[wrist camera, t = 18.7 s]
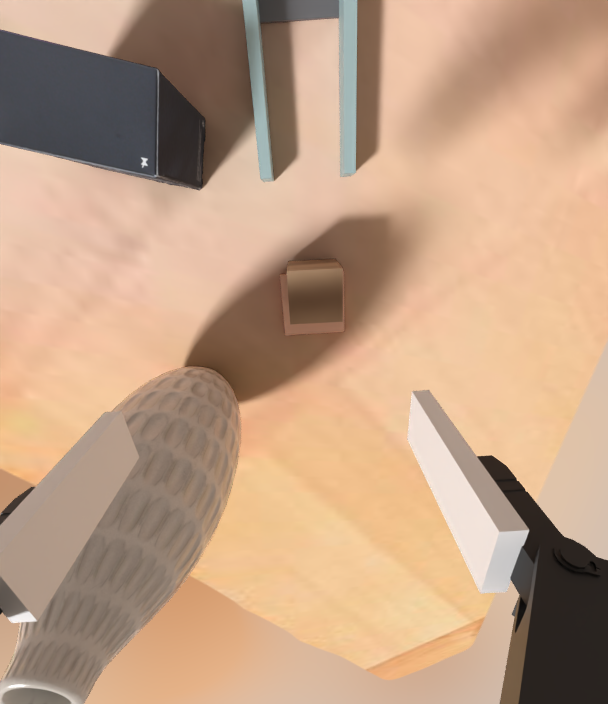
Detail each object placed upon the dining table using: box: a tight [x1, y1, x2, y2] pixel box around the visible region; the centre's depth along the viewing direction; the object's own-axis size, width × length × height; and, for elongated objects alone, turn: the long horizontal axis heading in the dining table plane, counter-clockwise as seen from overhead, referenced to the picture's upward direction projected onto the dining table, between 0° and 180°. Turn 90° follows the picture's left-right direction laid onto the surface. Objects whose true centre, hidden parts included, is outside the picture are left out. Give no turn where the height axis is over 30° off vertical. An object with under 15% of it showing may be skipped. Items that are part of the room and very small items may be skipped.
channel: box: [242, 0, 357, 182], centre depth 25 cm, size 16×8×5 cm, turn 3°
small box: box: [0, 30, 205, 190], centre depth 24 cm, size 11×6×10 cm, turn 79°
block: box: [287, 259, 343, 324], centre depth 31 cm, size 5×5×6 cm
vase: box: [0, 366, 241, 704], centre depth 27 cm, size 13×13×28 cm
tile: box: [280, 270, 344, 335], centre depth 35 cm, size 7×7×1 cm
